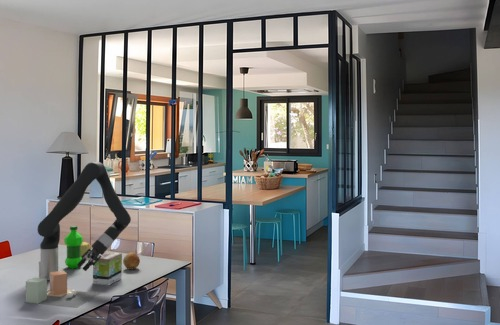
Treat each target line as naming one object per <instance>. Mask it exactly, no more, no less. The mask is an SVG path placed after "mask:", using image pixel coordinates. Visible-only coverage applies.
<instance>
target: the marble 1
mask: <svg viewBox="0 0 500 325" xmlns="http://www.w3.org/2000/svg"><path fill="white" fill-rule="evenodd" d="M66 296H67V298H72V296H73V293H72V292H68V293H67V295H66Z"/></svg>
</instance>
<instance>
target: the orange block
mask: <svg viewBox="0 0 500 325" xmlns="http://www.w3.org/2000/svg"><path fill="white" fill-rule="evenodd" d="M49 290H50V293H51V294H53V295H59V294H65V293H67V290H68V273H67V272H66V271H65V270H58V271H57V272H50V280H49Z"/></svg>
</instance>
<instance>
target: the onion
mask: <svg viewBox="0 0 500 325" xmlns="http://www.w3.org/2000/svg"><path fill="white" fill-rule="evenodd" d="M140 263H141V259H140V256H139V255H138V254H137V253H135V252H128V253H127V254H125V256H124V257H123V259H122V264H123V265H124V267H125V268H126V269H128V270H135V269H137V268H138V267H139V265H140Z"/></svg>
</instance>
